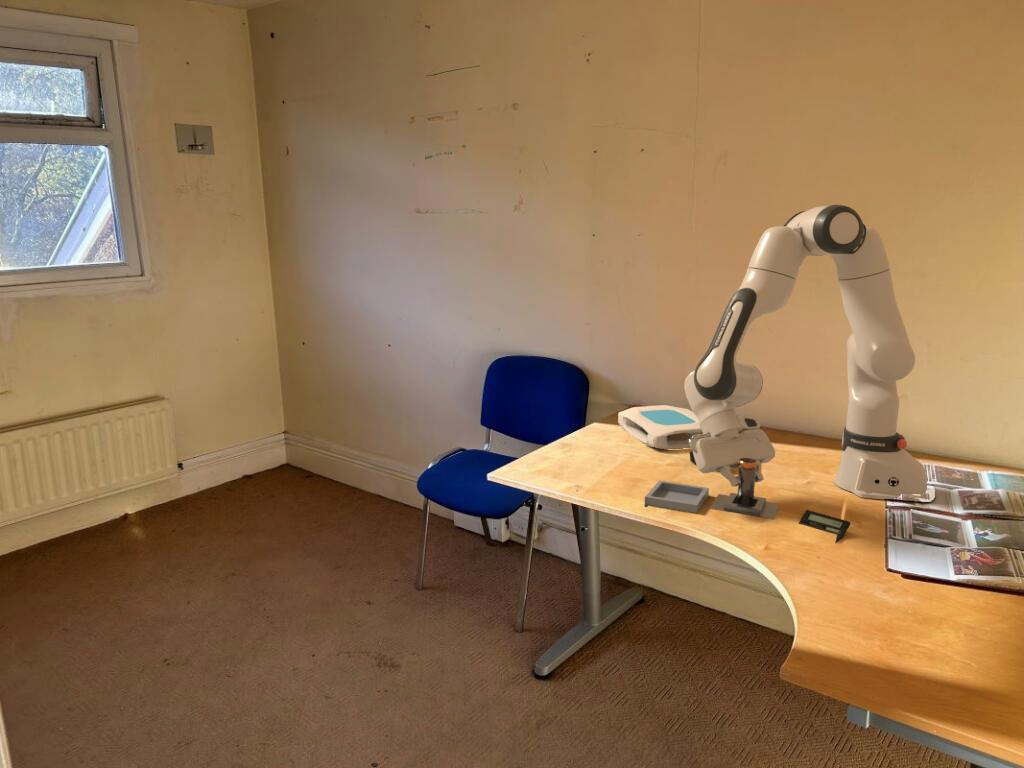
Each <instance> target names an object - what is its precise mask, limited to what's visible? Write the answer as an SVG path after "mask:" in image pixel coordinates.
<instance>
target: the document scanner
mask: <svg viewBox="0 0 1024 768" xmlns="http://www.w3.org/2000/svg"><path fill="white" fill-rule="evenodd" d="M617 416H618V418H617V419H618V420H617V423H618V424H619V426H620V427H621V429H623V430H624V432H625V431H626V432H627V433H626V432H625V433H626V434H628V435H629V434H630V435H629V436H631V437H632V436H633V437H634V438H633V437H632V438H633V439H635V438H636V439H637V440H636V439H635V440H636V441H638V440H639V441H640V442H642V443H643V444H646V445H647V446H646V445H645V446H646V447H650V448H654V447H655V448H656V449H659V450H663V449H664V450H665V451H669V450H668V449H683V448H691V447H690V444H689V440H690V438H691V437H692V436H693V435H699V434H703V432H702V430H701V428H700V425H699V420H698V417H697V416H696V415H695V414H694V413H693V411H692V410H690V409H688V408H684V407H677V406H673V405H668V404H660V405H646V406H634V407H631V408H630V407H629V408H627V409H625V410H622V411H619V412H618V414H617ZM640 429H642V430H640ZM643 430H644V431H643ZM685 433H686V434H687V435H686V434H685ZM675 434H676V435H677V434H685V435H686V436H688V435H689V436H690V437H689V439H684V440H668V436H669V437H670V436H672V435H675ZM639 441H638V442H639ZM640 442H639V443H640ZM642 443H641V444H642ZM643 444H642V445H643ZM683 450H684V449H683Z"/></svg>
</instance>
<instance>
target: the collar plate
mask: <svg viewBox="0 0 1024 768" xmlns="http://www.w3.org/2000/svg"><path fill="white" fill-rule="evenodd" d="M737 494H738V493H734V492H730V494H729V495H726V494H720V493H719V494H717V496H716V497H715V499H714V501H713V502H712V504H711V505H710V506H709V510H715V511H720V512H726V513H733V514H737V515H745V516H751V517H754V518H755V517H757V518H763V519H768V520H769V519H770V520H775V517H776V516H777V515H776V514H777V512H778V510H779V507H780V506H781V503H777V502H772V501H767V497H760V496H755V495H754V502H753V506H746V505H740V504H737Z"/></svg>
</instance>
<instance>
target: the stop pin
mask: <svg viewBox="0 0 1024 768" xmlns="http://www.w3.org/2000/svg"><path fill="white" fill-rule="evenodd" d="M755 472H756V460H755V459H751V458H741V459H739V468H738V477H739V480H740V481H741V484H740V485H739V486H737V493H736V494H737V504H740V505H746V506H753V502H754V496H755V486H756V485H755V483H756V482H755Z"/></svg>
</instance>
